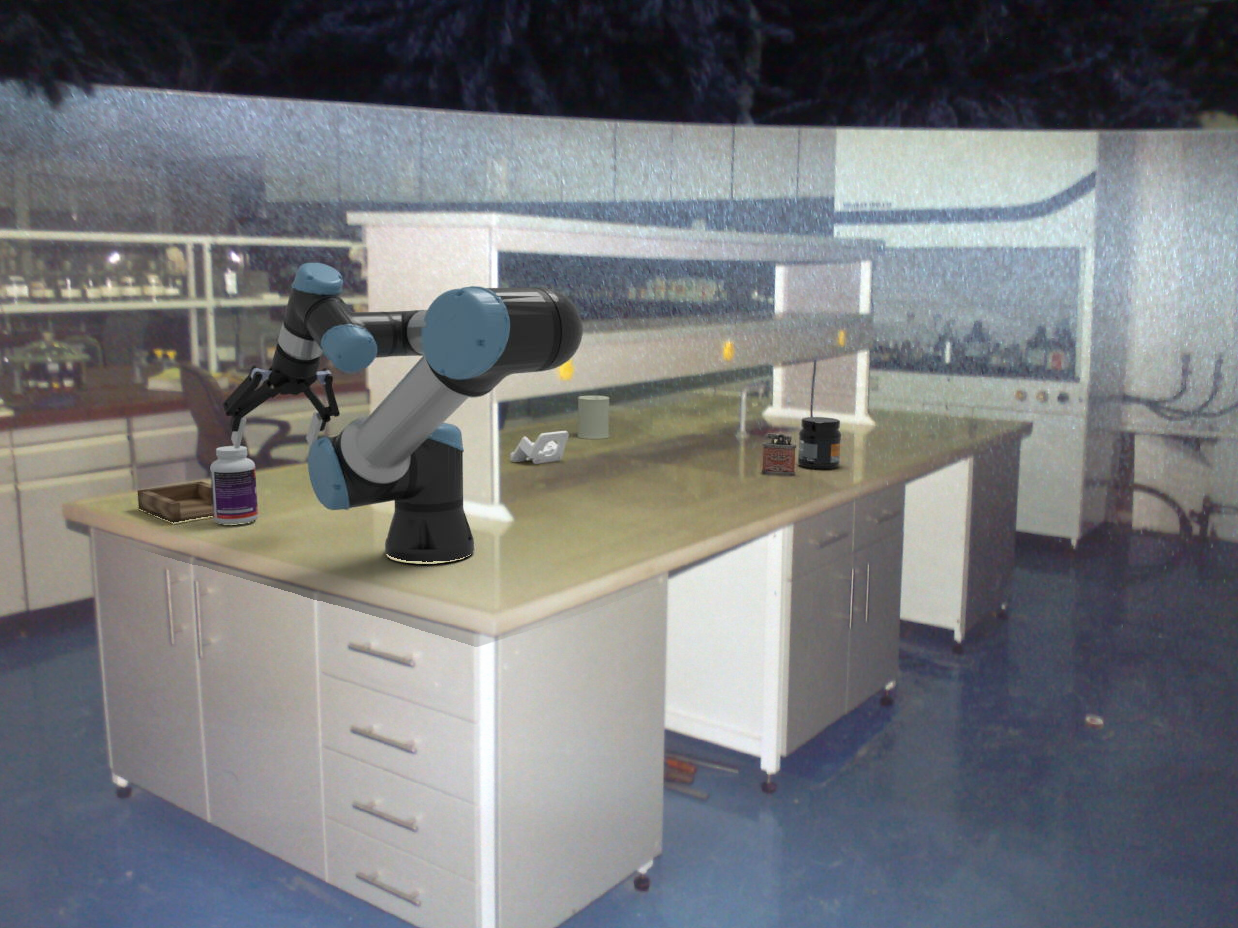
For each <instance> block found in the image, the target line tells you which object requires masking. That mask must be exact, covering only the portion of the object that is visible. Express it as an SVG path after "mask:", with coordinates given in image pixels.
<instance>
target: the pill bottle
mask: <svg viewBox="0 0 1238 928" xmlns="http://www.w3.org/2000/svg"><path fill="white" fill-rule="evenodd" d="M215 455H216V457H217V459H216V460H214V461H213V462H212V463H211V465H210V467H209V468H210V469H209V471H210V483H211V484H210V485H211V486H212V501H213V517H214V518H213V521H214V522H215V523H216V524H218V523H220V524H239V523H248V522H251V521H254V520H255V521H256V520H258V518H259V511H258V510H259V509H258V508H259V507H258V494H257V493H258V491H257V478H256V477H257V476H256V473H257V472H256V464H255V462H254V461H253V460H252V459H250V458H247V456H248V448H247V446H244V445H240V447H239V449H235V448H234V445H229V446H227V445H226V446H219V447H217V448H215ZM255 521H254V522H255ZM220 524H219V525H220ZM248 524H249V523H248Z"/></svg>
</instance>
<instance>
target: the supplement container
mask: <svg viewBox="0 0 1238 928" xmlns="http://www.w3.org/2000/svg"><path fill="white" fill-rule="evenodd" d="M800 423H801V425H800V426H801V429H800V430H799V432H798V450H797V451H798V453H797V454H798V457H797V463H798V465H799V466H800V467H802V468H805V469H808V470H809V469H810V470H820V471H821V470H823V471H824V470H835V469H836V468H838V467H839V465H840V464H841V463H840V459H841V458H840V455H841V440H842V439H841V438H842V433H841V431H840V430H839V429H840V428H841V420H840V419H837V418H834V417H825V416H813V417H812V416H810V417H809V416H808V417H803V418H801V422H800Z"/></svg>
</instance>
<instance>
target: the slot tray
mask: <svg viewBox="0 0 1238 928" xmlns="http://www.w3.org/2000/svg"><path fill="white" fill-rule="evenodd" d="M137 502H138V510H139V509H141V510H143V511H146V512H147V513H150V514H152V515H155V516H158V517H160V518H162V519H165V520H168V521H170V522H173V523H174V522H179V521H185V520H189V519H196V518H201V517H208V516H213V501H212V486H211V484H210V483H207V482H205V481H194V482H188V483H181V484H180V483H179V484H174V485H167V486H161V487H158V486H157V487H153V488H146V489H137ZM147 513H146V514H147ZM152 515H151V516H152Z"/></svg>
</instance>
